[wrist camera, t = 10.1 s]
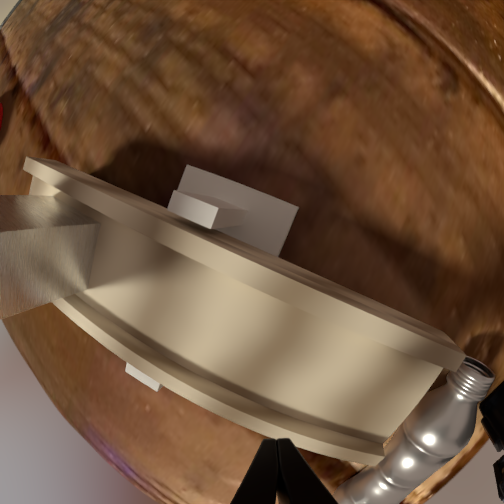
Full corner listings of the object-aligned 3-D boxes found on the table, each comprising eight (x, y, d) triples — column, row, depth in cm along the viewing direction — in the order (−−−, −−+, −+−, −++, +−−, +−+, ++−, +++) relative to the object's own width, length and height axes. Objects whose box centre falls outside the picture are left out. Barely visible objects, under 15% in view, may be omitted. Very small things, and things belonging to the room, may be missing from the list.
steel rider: (101, 223, 14) (-20, 234, 6) (87, 289, 15) (-16, 325, 7) (53, 195, 15) (-43, 196, 7) (43, 253, 16) (-45, 270, 8)
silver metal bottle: (345, 482, 21) (449, 340, 17) (384, 511, 16) (507, 371, 12) (309, 510, 17) (434, 357, 13) (352, 545, 12) (510, 400, 8)
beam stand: (298, 207, 18) (291, 201, 11) (224, 376, 20) (192, 427, 14) (192, 166, 19) (140, 147, 12) (141, 330, 22) (91, 362, 15)
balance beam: (426, 315, 15) (466, 355, 9) (365, 408, 17) (374, 466, 11) (79, 164, 20) (26, 156, 14) (60, 249, 22) (9, 258, 16)
